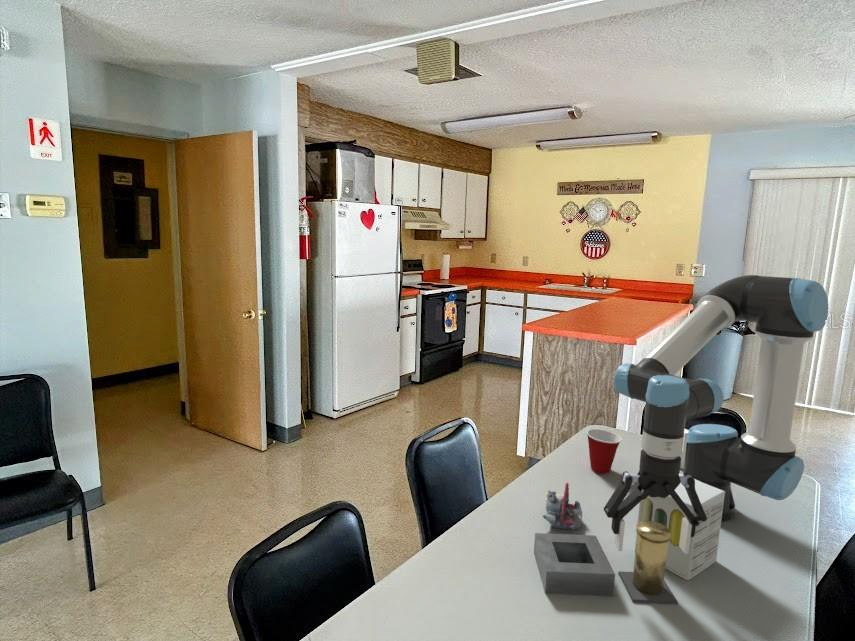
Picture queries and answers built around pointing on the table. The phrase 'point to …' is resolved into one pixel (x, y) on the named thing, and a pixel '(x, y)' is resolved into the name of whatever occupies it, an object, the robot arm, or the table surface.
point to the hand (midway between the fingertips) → (650, 548)
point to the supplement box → (671, 517)
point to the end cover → (650, 557)
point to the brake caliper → (562, 511)
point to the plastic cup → (602, 449)
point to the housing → (573, 565)
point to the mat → (638, 596)
